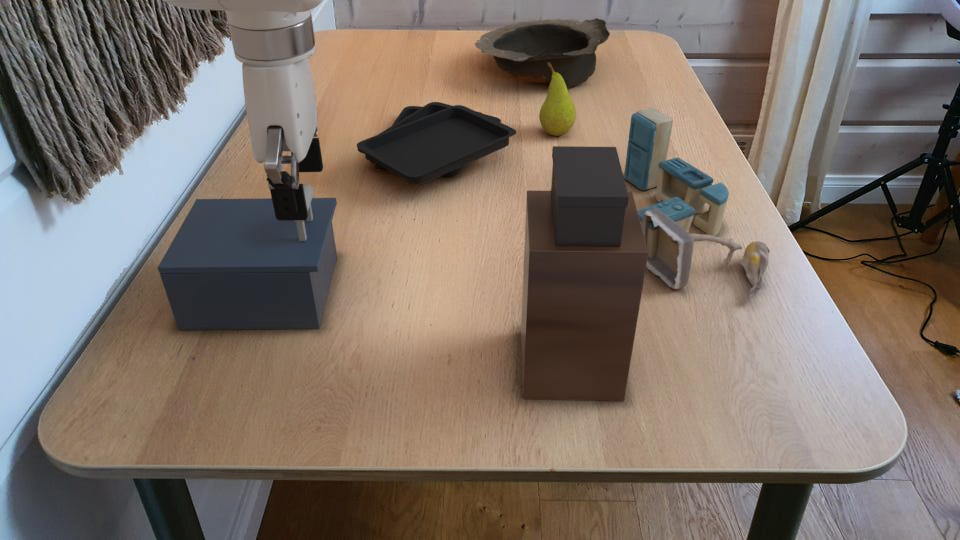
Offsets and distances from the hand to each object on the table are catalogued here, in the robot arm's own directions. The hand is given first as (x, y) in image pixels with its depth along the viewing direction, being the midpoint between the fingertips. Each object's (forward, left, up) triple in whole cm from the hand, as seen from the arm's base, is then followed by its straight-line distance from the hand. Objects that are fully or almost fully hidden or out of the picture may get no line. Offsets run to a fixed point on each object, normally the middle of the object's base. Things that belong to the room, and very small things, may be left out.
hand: (301, 193), depth 79 cm
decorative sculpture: (+27, -38, -13) cm, 49 cm away
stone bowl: (+72, +11, -13) cm, 74 cm away
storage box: (-4, +5, -13) cm, 15 cm away
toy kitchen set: (+37, -26, -13) cm, 47 cm away
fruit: (+51, -4, -13) cm, 53 cm away
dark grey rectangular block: (+5, -31, +5) cm, 32 cm away
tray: (+34, +7, -13) cm, 37 cm away
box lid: (-4, +5, -5) cm, 8 cm away
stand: (+5, -31, -13) cm, 34 cm away
